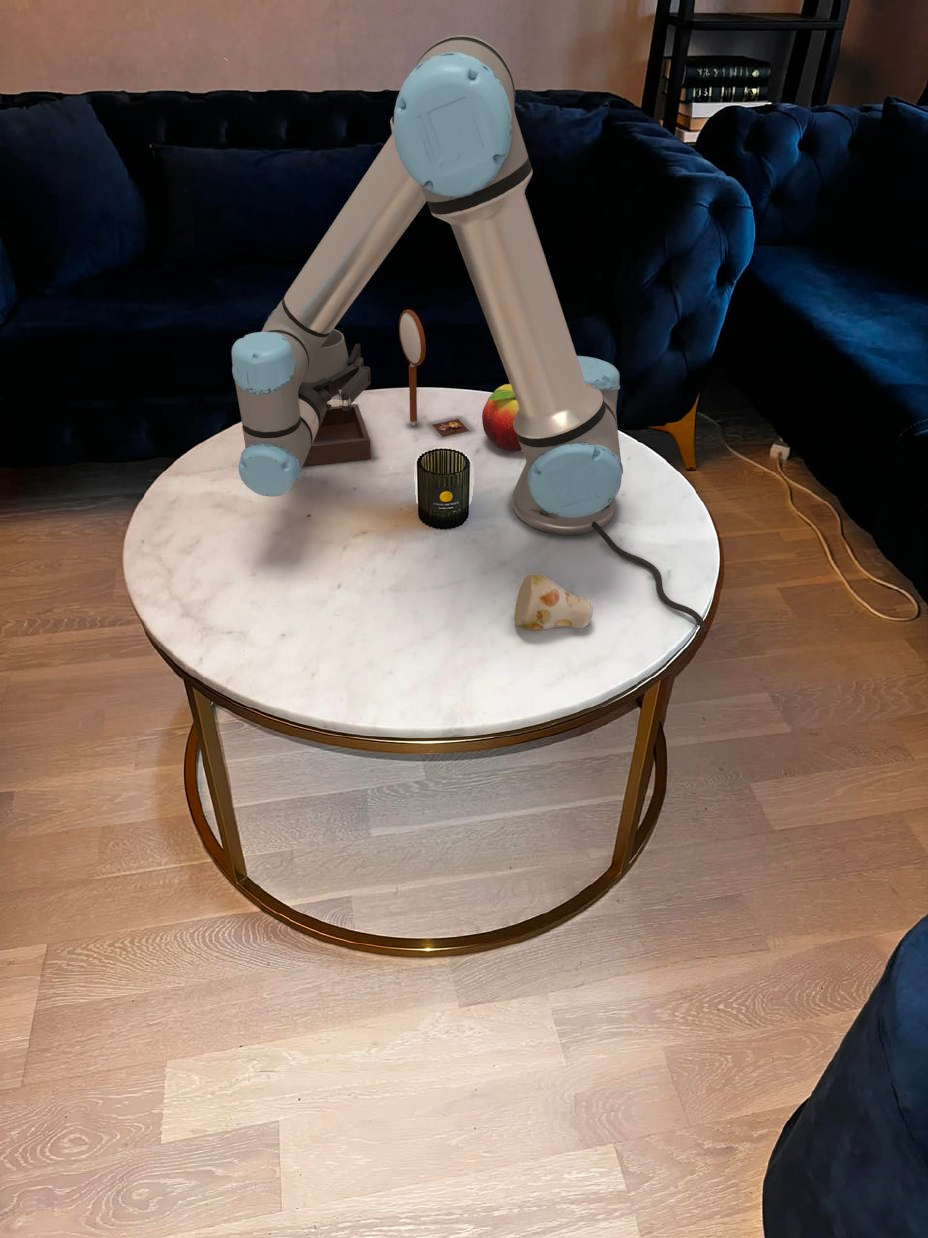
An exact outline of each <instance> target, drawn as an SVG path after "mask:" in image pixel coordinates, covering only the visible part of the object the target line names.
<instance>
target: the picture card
mask: <svg viewBox="0 0 928 1238" xmlns="http://www.w3.org/2000/svg"><path fill="white" fill-rule="evenodd" d="M431 426H432V427H433V428H434V429H435V430H436V431H437V433H439V434H440V436H441V437H442V438H445V437H449V436H454V435H458V434H463V433H466V432H468V433H469V432H470V430H469V429H468V428H467V426H466V425H464V423H462V421H461V420H460V419H459V418H457V419H451V420H447V421H442V422H438V423H433V424H431Z"/></svg>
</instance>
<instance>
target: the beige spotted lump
mask: <svg viewBox="0 0 928 1238" xmlns="http://www.w3.org/2000/svg"><path fill="white" fill-rule="evenodd" d="M593 610H594V608H593V603H591V602H590V600H589V599H588V598H585V597H582V596H578V595H575V594H572V593H570V592H569V591H567V590H565V589H564V588H563V587H561V586H560V585H559V584H557V583H556V582H554V581H553V580H552V579H550V578H549V577H546V576H544V575H541V574H527V575H526V576H525V577H524V578H523V581H522V582H521V584H520V587H519V590H518V592H517V597H516V602H515V607H514V624H515V626H517V627H518V628H521V629H524V630H527V631H543V630H548V629H553V628H559V627H568V628H575V629H584V628H585V627H586V626H588V625H589V624H590V622H591V619H592V617H593V612H594V611H593Z"/></svg>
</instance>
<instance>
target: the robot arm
mask: <svg viewBox="0 0 928 1238" xmlns="http://www.w3.org/2000/svg"><path fill="white" fill-rule="evenodd" d="M515 107H516V87H515V81H514V77H513V74H512V70H511V68H510V66H509V64H508V62H507V60H506V58H505V57H504V56H503V55H502V54H501V52H500V51H499V50H498V49H497V48H496V47H495V46H494V45H492V44H491V43H489V42H488V41H486V40H485V39H482V38H480V37H477V36H475V35H469V34H456V35H451V36H447V37H444V38H441V39H440V40H438V41H436V42H435V43H434V44H432V45H431V46H430V47H428V48H427V50H425V52H424V53H423V54H422V55H421V57H420V58H419V60H418V61H417V63H416V65H415V67H414V69H413V70H412V71H411V72H410V73H409V75H408V76H407V77H406V78H405V80H404V82H403V84H402V86H401V87H400V90H399V93H398V95H397V97H396V101H395V106H394V111H393V116H392V117H391V119H390V121H389V123H390V130H391V134H390V137H388V139H387V141H386V143H385V144H384V145H383V147H382V148H381V150H380V151H379V153H378V154H377V156H376V158H375V159H374V160H373V162H372V163H371V165H370V166H369V168H368V170H367V171H366V173H365V174H364V176H363V177H362V179H361V180H360V181H359V183H358V184H357V186H356V188H355V189H354V191H353V192H352V193H351V195H350V196H349V198H348V200H347V201H346V202H345V204H344V205H343V207H342V208H341V210H340V212H338V214H337V216H336V218H335V219H334V221H333V222H332V224H331V225H330V226H329V228H328V230H327V231H326V232H325V234H324V235H323V237H322V239H321V240H320V242H319V243H318V244H317V246H316V248H315V249H314V250H313V252H312V253H311V255H310V257H309V258H308V259H307V261H306V262H305V264H304V266H303V267H302V269H301V270H300V271H299V273H298V274H297V276H296V278H294V281H293V282H292V284H291V285H290V287H289V288H288V290H287V291H286V293H285V294H284V297H283V298H282V299H281V300H280V302H279V303H278V305H277V306H276V308H274V309H273V310H272V311H271V313H270V314H269V316H268V317H267V319H266V321H265V323H264V325H263V327H262V330H261V331H258V332H252V333H248V334H245V335H244V336H243V337H241V338H238V339H236V340H235V342H234V344H233V345H232V347H231V363H232V367H231V371H232V372H231V373H232V377H233V380H234V384H235V390H236V395H237V401H238V406H239V412H240V418H241V425H242V426H241V427H242V434H243V440H244V449H243V451H242V452H241V454H240V455H241V456H240V460H239V461H238V462H239V463H238V474H239V477H240V479H241V481H242V482H243V484H244V485H245V486H246V487H247V488H248V489H249V490H250V491H252V492H253V493H255V494H257V495H258V496H259V495H260V496H262V497H269V498H273V497H274V498H275V497H280V496H282V495H285V494H287V493H288V492H289V491H290V490H292V488H293V487H294V485H295V483H296V481H297V480H298V479H299V478H300V476H301V473H302V471H303V470H302V469H303V467H304V466H303V464H304V462H305V459H306V457H307V455H308V452H309V450H310V448H311V446H312V443H313V441H314V439H315V436H316V434H317V432H318V430H319V428H320V425H321V423H322V421H323V418H324V416H325V412H326V411H327V410H328V409H330V408H331V407H333V406H342V410H344V411H348V410H350V408H351V405H352V403H353V402H354V401H356V399H357V398H358V397H359V396H360V395H361V394H362V393H363V392H364V391H365V390H366V389H367V388H368V387H369V386H370V385H371V384H372V380H371V379H372V377H371V376H372V375H371V367H370V366H368V365H367V366H366V365H365V366H364V358H363V357H362V351H361V350H362V349H361V344H360V343H355V344H354V347H353V349H352V351H351V352H350V355H349V360H348V367H347V368H345V369H343V370H341V371H340V372H338V373H336V374H334V375H333V376H331V377H329V378H328V379H327V378H322V379H320V380H318V381H316V382H315V383H313V382H312V383H306V382H302V380H303V378H304V376H305V374H306V372H307V370H308V367H309V365H310V363H311V361H312V359H313V358H314V356H315V354H316V353H317V351H318V350H319V349H320V347H321V346H322V345H323V343H324V342H325V340H326V339H327V338H328V336H329V335H330V333H331V331H332V330H333V329H335V327H336V326H337V324H338V323H339V322H340V321H341V319H342V318H343V317H344V315H345V314H346V312H347V311H348V309H349V308H350V307H351V306H352V304H353V303H354V301H355V300H356V298H357V297H358V296H359V295H360V293H361V292H362V291H363V289H364V288H365V286H366V285H367V283H368V282H369V281H370V279H372V276H373V275H374V274H375V272H376V271H377V270H378V268H379V267H380V265H382V263H383V262H384V260H385V259H386V258H387V256H388V254H389V253H390V252H391V250H392V249H393V248H394V247H395V245H396V244H397V242H398V241H399V240H400V238H401V237H402V235H403V234H404V233H405V231H406V230H407V229H408V228H409V226H410V225H411V223H412V222H413V221H414V219H415V218H416V216H417V215H418V214H419V212H420V211H421V210H422V208H423V206H425V204H427V205H428V208H429V211H430V213H431V215H432V216H433V217H434V218H437V219H438V220H439V219H440V220H441V221H444V222H446V223H448V224H449V225H450V227H451V230H452V232H453V234H454V237H455V240H456V243H457V245H458V249H459V250H460V253H461V255H462V258H463V262H464V264H465V267H466V269H467V272H468V275H469V277H470V280H471V283H472V285H473V287H474V291H475V294H476V296H477V299H478V302H479V305H480V307H481V310H482V313H483V315H484V317H485V320H486V323H487V326H488V328H489V331H490V333H491V336H492V339H493V341H494V344H495V348H496V349H497V352H498V355H499V358H500V360H501V363H502V365H503V368H504V371H505V373H506V376H507V379H508V382H509V384H511V387H512V390H513V392H514V395H515V398H516V400H517V403H518V406H519V410H518V412H517V414H516V415H515V417H514V420H513V426H514V430H515V433H516V435H517V438H518V440H519V443H520V446H521V448H522V450H521V451H522V454H523V456H524V459H525V461H526V462H525V464H524V467H523V469H522V471H521V473H520V475H519V478H518V479H517V482H516V484H515V486H514V489H513V495H512V496H513V497H512V509H513V511H514V513H515V514H516V516H517V517H518V518H519V519H520V520H521V521H522V522H523V523H525V524H526V525H528V526H529V527H531V528H534V529H535V530H538V531H541V532H545V533H548V534H553V535H560V536H577V535H578V536H579V535H585V534H589V533H593V532H595V531H596V533H597V534H598V535H599V536H601V538H602V539H603V540H604V541H605V543H606V544H607V545H608V547H609V548H610V549H611V550H612V551H613V552H614V553H616V554H617V555H619V556H621V557H622V558H624V559H626V560H629V561H632V562H634V563H636V564H639V565H641V566H643V567H645V568H647V569H648V570H649V571H650V572H651V573H652V574H653V576H654V579H655V586H656V587H655V588H656V593H657V595H658V597H659V599H660V600H661V602H663V604H665V605H666V606H668V607H669V608H672V609H674V610H676V611H680V612H682V613H684V614H687V615H689V616H690V617H692V619H694V620H695V622H696V623H697V625H698V627H699V629H700V630H701V631H704V632H705V631H707V630H708V627H707V624H706V622H705V620H704V618H703V617H702V616H701V614H700V613H698V612H697V611H696V610H695V609H693V608H691V607H690V606H687V605H683V604H682V603H681V604H680V603H679V602H675V601H673V600H671V598H669V596H667V595H666V593H665V591H664V587H663V577H662V575H661V572H660V570H659V569H658V567H656V566H655V565H654V564H653V563H651V562H650V561H648V560H647V559H645V558H642V557H639V556H638V555H635V554H632V553H630V552H627V551H625V550H623V549H622V548H620V547H619V546H618V545H617V544H616V543H615V542H614V540H613V539H612V538H611V536H609V535H608V533H607V532H606V530H604V529H603V527H605V526H606V525H607V524H608V523H610V521H611V520H612V518H613V516H614V513H615V506H616V496H617V495H618V493H619V491H620V488H621V486H622V479H623V478H622V477H623V474H624V466H623V462H622V457H621V448H620V438H619V429H618V420H617V403H618V395H619V390H620V389H621V385H620V371H619V370H618V369H617V368H616V367H615V365H613V364H612V363H610V362H608V361H605V360H602V359H599V358H596V357H590V356H583V355H577V353H576V350H575V346H574V343H573V341H572V337H571V333H570V331H569V327H568V324H567V321H566V319H565V315H564V312H563V309H562V306H561V302H560V300H559V297H558V293H557V290H556V287H555V284H554V280H553V277H552V274H551V272H550V271H551V270H550V268H549V266H548V262H547V259H546V255H545V253H544V249H543V246H542V244H541V240H540V237H539V234H538V230H537V227H536V225H535V221H534V219H533V216H532V215H533V214H532V212H531V209H530V205H529V203H528V199H527V196H526V194H525V193H526V189H527V186H528V184H529V182H530V181H531V178H532V176H533V168H532V164H531V161H530V158H529V154H528V150H527V148H526V144H525V141H524V138H523V135H522V131H521V128H520V125H519V121H518V119H517V116H516V112H515ZM335 395H336V396H335Z"/></svg>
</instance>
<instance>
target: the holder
mask: <svg viewBox="0 0 928 1238" xmlns="http://www.w3.org/2000/svg"><path fill="white" fill-rule="evenodd" d="M367 429H368V428H367V426H366V423H365V420H364V418H363V415H362V413H361V410H360V407H359V404H358V403H354V404H351V408H350V410H348V411H344V410H342V406H338V405H332V406H331V408H330V409H328V410H327V411H326V412H325V416H324V418H323V421H322V423H321V425H320V428H319V430H318V432H317V434H316V436H315V439H314V441H313V443H312V446H311V448H310V450H309V452H308V455H307V457H306V459H305V462H304V464H303V467H310V466H318V465H319V466H320V465H327V464H328V465H329V464H336V463H338V464H339V463H345V462H354V461H355V462H356V461H362V460H371V459H372V449H371V438H370V435H369V432H368V430H367Z"/></svg>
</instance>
